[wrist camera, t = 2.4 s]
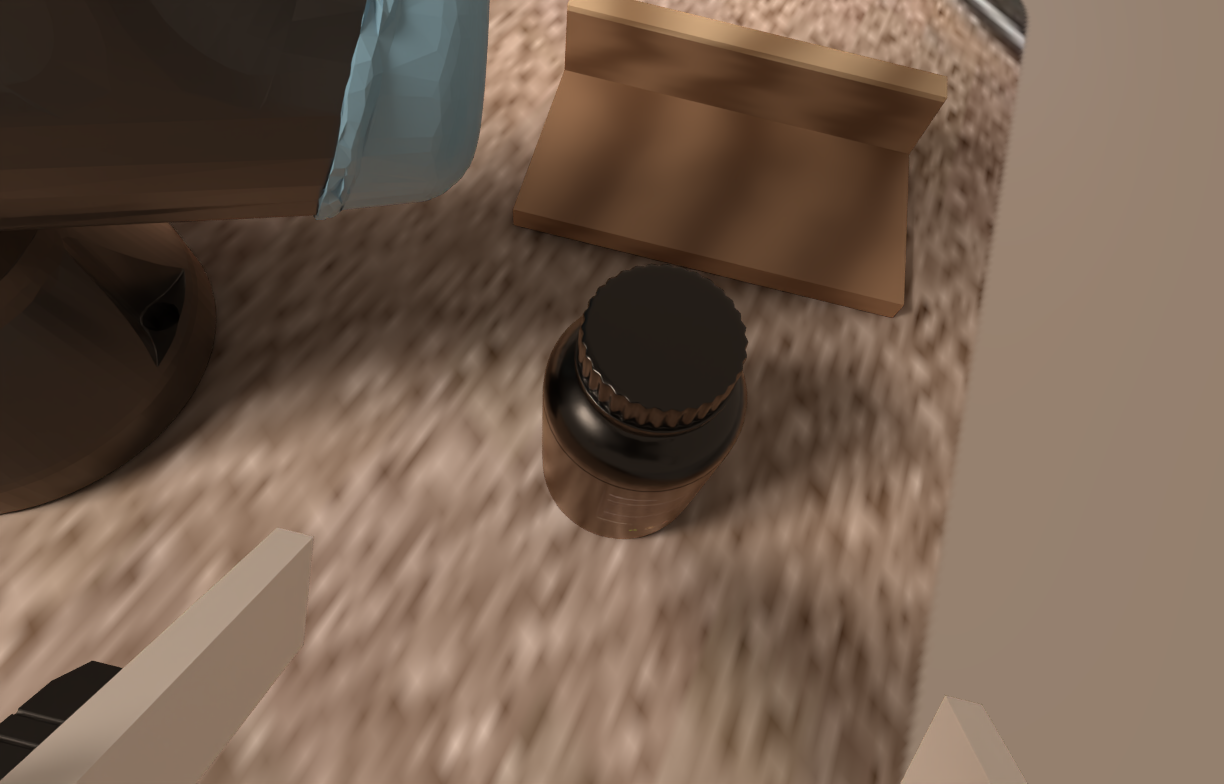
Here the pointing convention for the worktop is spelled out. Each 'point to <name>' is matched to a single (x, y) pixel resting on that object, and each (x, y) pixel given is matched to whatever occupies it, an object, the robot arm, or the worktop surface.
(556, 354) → the supplement bottle
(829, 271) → the walnut shelf
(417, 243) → the worktop surface
